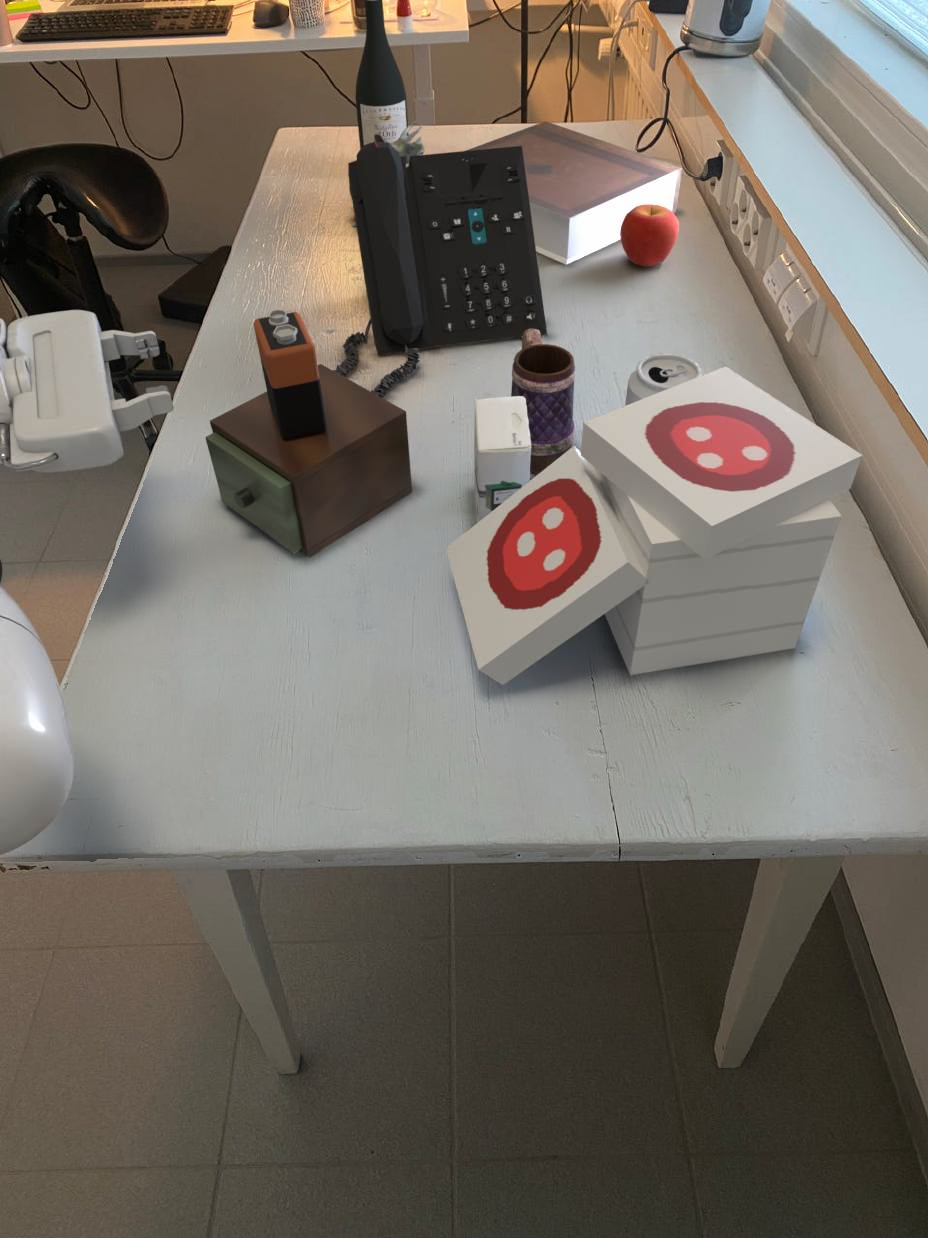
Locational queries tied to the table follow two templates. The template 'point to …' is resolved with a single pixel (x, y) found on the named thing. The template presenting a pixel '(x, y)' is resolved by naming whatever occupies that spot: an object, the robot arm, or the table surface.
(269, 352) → the battery
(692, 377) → the can
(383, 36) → the wine bottle
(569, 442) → the mug
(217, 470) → the drawer
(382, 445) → the cabinet
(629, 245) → the apple
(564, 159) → the book
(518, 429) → the ink box
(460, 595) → the pizza boxes
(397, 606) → the table surface
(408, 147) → the toy dinosaur
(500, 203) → the office phone
